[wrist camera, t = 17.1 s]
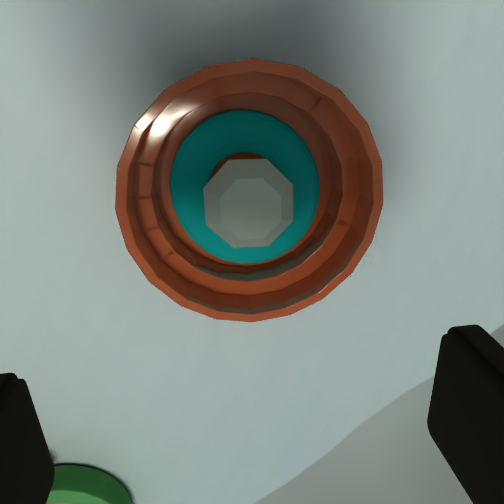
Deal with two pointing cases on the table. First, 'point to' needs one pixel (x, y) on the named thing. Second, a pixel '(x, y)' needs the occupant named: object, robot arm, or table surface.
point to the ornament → (244, 187)
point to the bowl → (269, 102)
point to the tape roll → (85, 487)
